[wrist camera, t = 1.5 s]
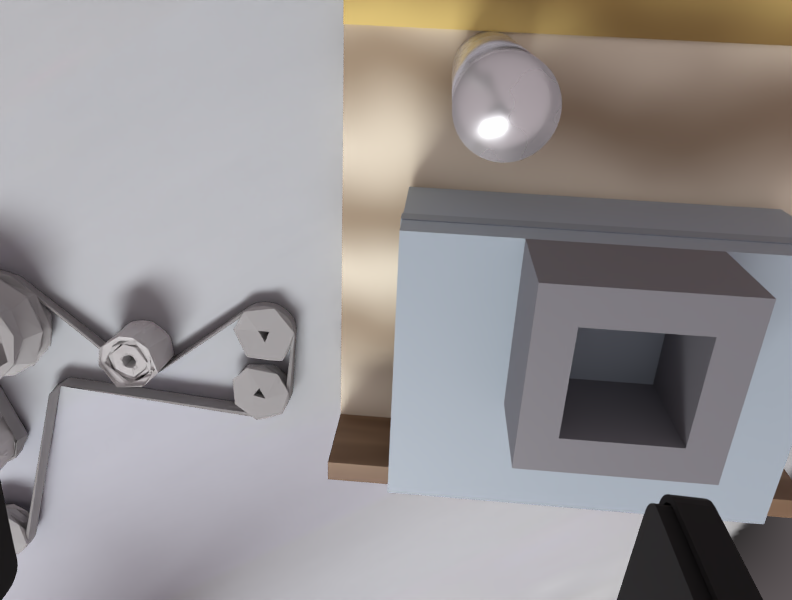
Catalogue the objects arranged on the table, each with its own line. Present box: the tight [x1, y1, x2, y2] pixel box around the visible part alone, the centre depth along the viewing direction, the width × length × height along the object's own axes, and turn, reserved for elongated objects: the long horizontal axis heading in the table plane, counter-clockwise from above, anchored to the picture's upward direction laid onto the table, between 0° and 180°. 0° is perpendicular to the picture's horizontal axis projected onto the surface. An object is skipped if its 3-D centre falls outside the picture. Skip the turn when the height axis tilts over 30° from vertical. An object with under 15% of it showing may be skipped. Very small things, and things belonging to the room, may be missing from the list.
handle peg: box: [452, 31, 562, 163], centre depth 23 cm, size 3×3×10 cm
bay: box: [328, 0, 792, 518], centre depth 29 cm, size 22×22×6 cm
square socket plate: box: [387, 187, 792, 524], centre depth 27 cm, size 12×16×10 cm
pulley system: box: [0, 270, 297, 554], centre depth 36 cm, size 27×5×15 cm
